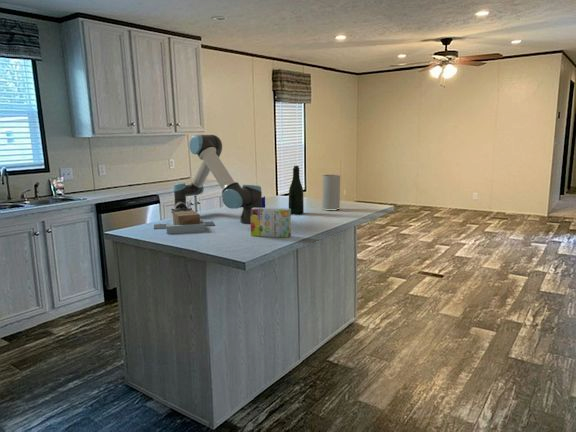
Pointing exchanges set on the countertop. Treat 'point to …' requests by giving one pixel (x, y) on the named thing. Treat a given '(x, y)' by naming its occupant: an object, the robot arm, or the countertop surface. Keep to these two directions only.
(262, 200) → the puzzle cube
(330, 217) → the countertop surface
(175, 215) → the walnut block
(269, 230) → the snack box
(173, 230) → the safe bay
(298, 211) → the beer bottle
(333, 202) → the cylinder vase
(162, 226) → the mats
